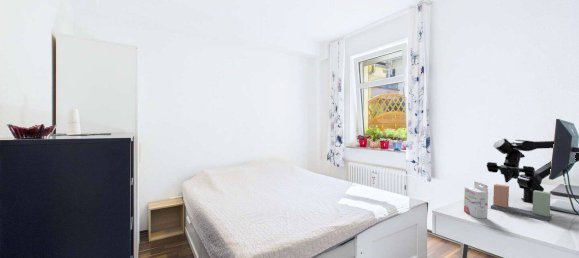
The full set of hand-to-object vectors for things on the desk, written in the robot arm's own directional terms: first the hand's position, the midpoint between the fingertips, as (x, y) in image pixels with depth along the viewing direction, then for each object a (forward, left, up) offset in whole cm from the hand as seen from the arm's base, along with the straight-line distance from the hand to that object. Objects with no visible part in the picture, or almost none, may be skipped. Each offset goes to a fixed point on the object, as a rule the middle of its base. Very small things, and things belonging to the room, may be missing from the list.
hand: (506, 182), depth 126 cm
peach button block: (+8, -3, -11) cm, 13 cm away
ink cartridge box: (+27, -14, -12) cm, 33 cm away
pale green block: (+13, +10, -11) cm, 19 cm away
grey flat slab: (+11, +3, -12) cm, 17 cm away
